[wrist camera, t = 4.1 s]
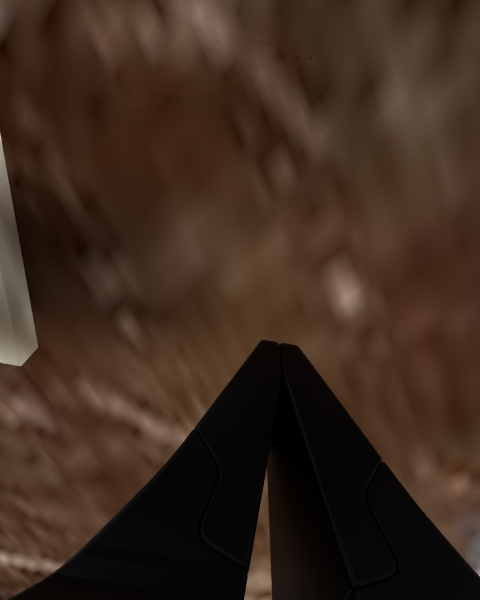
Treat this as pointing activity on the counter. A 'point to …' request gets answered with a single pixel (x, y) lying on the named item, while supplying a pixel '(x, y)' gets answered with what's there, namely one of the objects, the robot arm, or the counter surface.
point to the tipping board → (13, 284)
